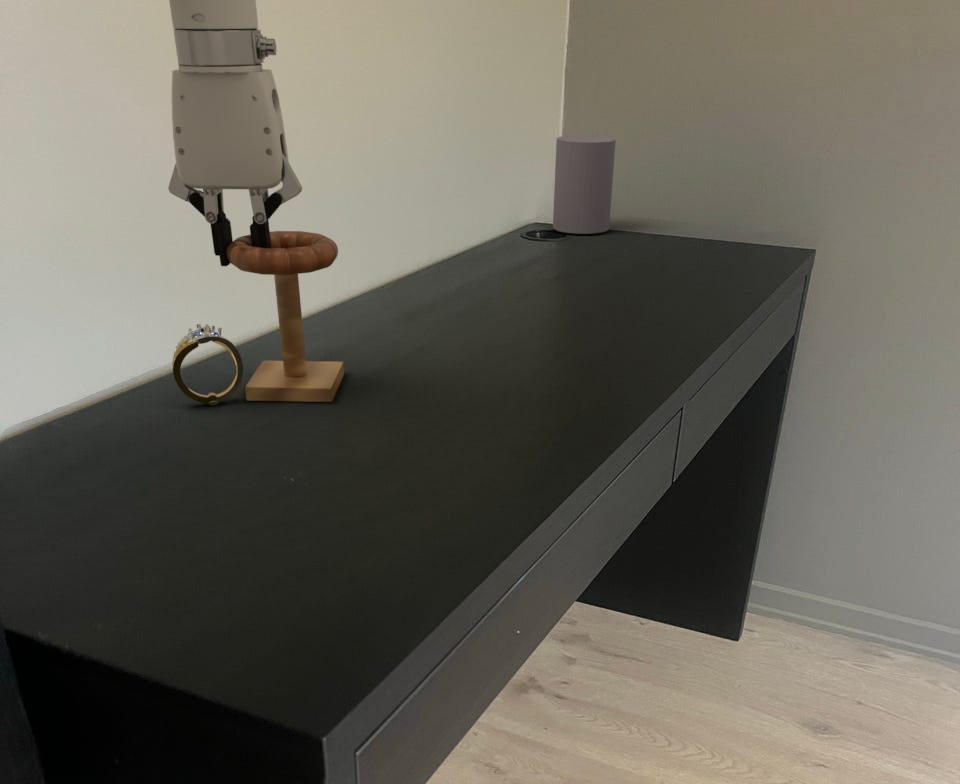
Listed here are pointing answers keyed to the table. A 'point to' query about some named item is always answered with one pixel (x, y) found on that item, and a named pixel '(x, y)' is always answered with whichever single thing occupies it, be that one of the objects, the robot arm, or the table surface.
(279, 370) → the post
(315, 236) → the ring
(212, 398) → the ring
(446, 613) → the table surface
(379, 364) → the table surface
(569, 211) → the container
